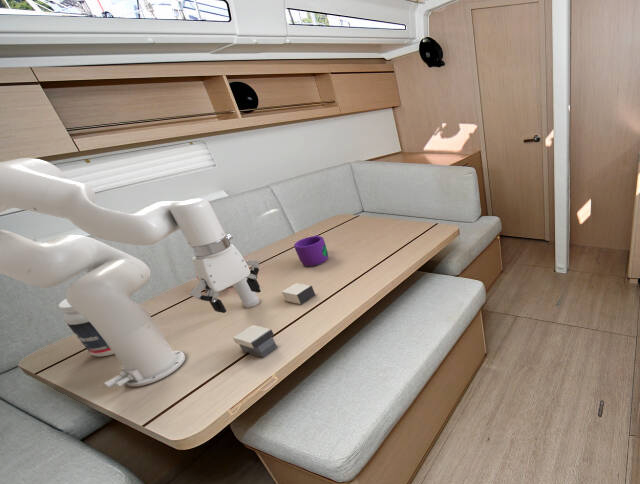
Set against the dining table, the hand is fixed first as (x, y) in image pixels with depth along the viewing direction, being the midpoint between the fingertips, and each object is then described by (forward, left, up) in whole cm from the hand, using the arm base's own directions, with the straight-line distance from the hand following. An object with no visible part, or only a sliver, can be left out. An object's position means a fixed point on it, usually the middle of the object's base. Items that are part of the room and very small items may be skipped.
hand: (239, 301), depth 98 cm
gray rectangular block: (-1, 0, -17) cm, 17 cm away
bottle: (+15, +27, -17) cm, 35 cm away
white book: (-1, 0, -13) cm, 13 cm away
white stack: (+23, +12, -17) cm, 31 cm away
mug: (+49, +32, -17) cm, 61 cm away
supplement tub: (-13, +48, -17) cm, 52 cm away
